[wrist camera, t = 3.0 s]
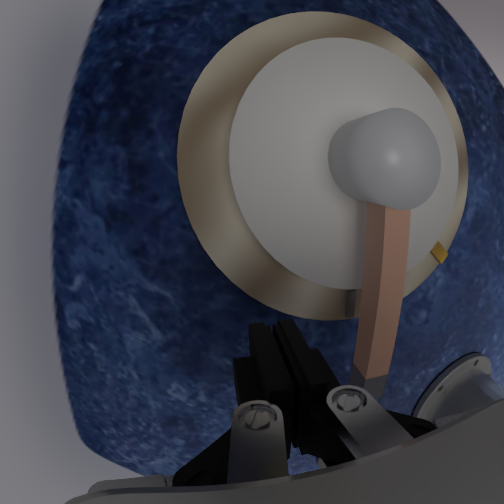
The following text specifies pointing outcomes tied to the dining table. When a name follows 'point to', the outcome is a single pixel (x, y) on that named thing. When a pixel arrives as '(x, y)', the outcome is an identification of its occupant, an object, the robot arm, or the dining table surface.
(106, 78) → the dining table surface
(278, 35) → the dial base
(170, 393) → the dining table surface
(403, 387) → the dining table surface
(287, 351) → the robot arm
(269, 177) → the dial
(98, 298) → the dining table surface
